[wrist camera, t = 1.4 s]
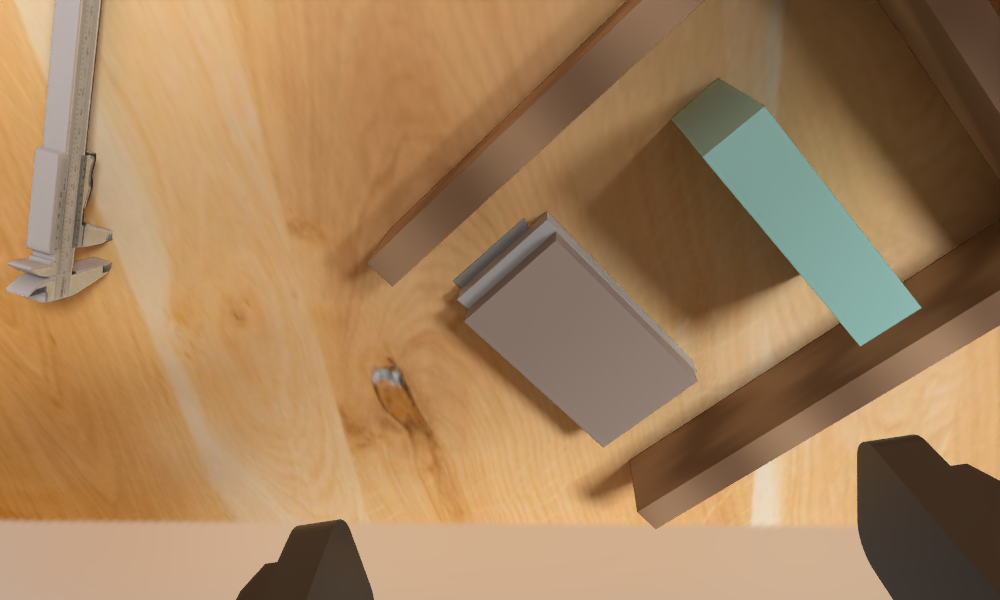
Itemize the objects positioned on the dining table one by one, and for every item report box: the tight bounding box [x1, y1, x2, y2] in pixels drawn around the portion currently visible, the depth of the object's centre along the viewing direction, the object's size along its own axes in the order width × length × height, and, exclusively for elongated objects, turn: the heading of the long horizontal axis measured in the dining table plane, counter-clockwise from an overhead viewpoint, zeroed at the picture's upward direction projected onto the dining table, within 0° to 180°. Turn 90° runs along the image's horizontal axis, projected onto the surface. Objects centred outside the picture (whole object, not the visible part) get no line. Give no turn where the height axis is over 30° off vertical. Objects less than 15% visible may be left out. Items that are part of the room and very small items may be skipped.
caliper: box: [6, 0, 112, 303], centre depth 27 cm, size 20×1×6 cm, turn 165°
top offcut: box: [464, 232, 697, 447], centre depth 32 cm, size 6×10×1 cm, turn 45°
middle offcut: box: [457, 212, 697, 373], centre depth 33 cm, size 6×11×1 cm, turn 45°
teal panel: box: [671, 78, 921, 346], centre depth 27 cm, size 2×10×7 cm, turn 44°
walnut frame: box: [367, 0, 1000, 529], centre depth 29 cm, size 24×20×4 cm
